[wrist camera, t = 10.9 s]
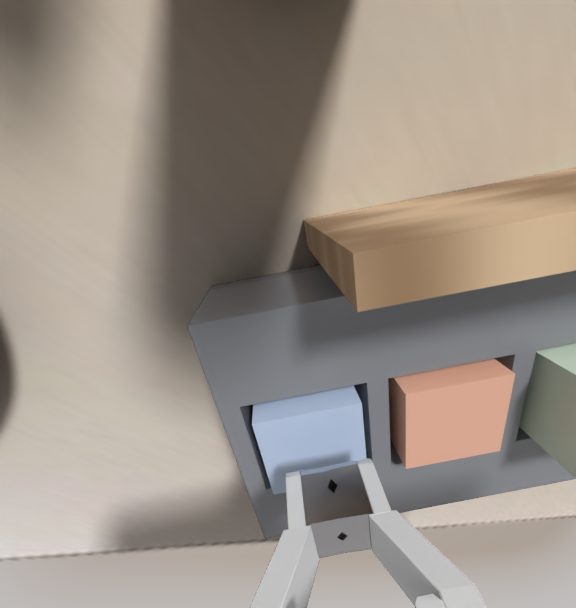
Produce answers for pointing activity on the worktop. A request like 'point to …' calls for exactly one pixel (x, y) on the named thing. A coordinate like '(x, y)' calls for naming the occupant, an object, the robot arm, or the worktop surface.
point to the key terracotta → (449, 412)
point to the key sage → (553, 404)
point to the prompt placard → (449, 241)
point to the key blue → (309, 432)
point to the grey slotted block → (377, 371)
